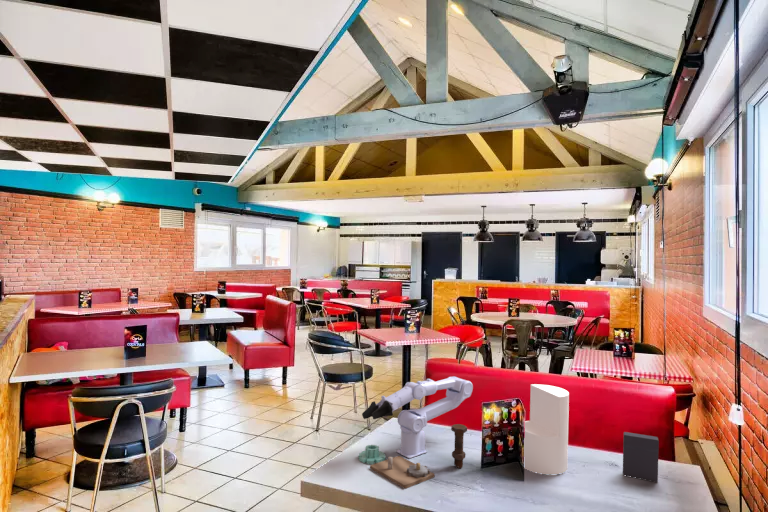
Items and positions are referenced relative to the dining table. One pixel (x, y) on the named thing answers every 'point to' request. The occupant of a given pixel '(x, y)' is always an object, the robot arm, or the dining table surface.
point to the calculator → (640, 456)
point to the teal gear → (371, 455)
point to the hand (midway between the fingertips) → (367, 416)
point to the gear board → (402, 471)
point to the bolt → (458, 444)
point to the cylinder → (547, 430)
